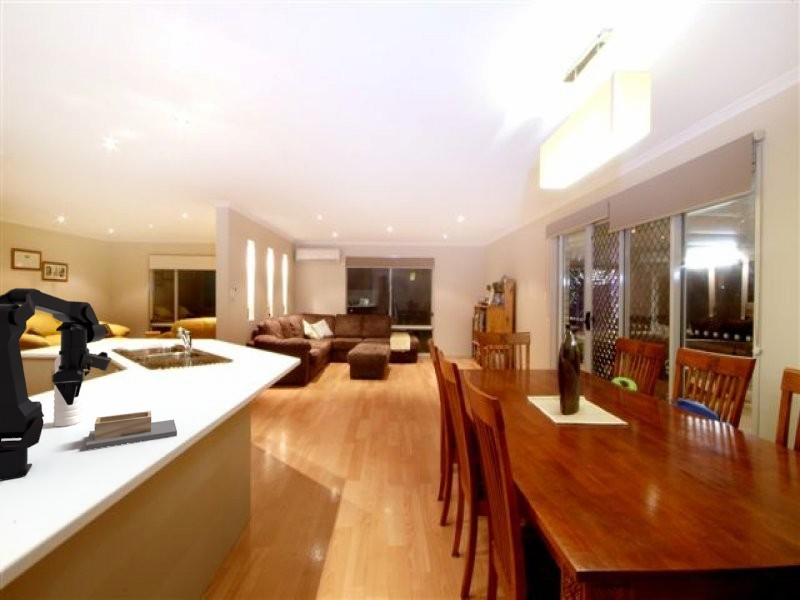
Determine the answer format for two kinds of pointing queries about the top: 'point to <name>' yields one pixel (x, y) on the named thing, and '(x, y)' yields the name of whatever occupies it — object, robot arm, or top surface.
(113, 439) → the grey plate with ball
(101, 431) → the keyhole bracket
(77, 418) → the water bottle
